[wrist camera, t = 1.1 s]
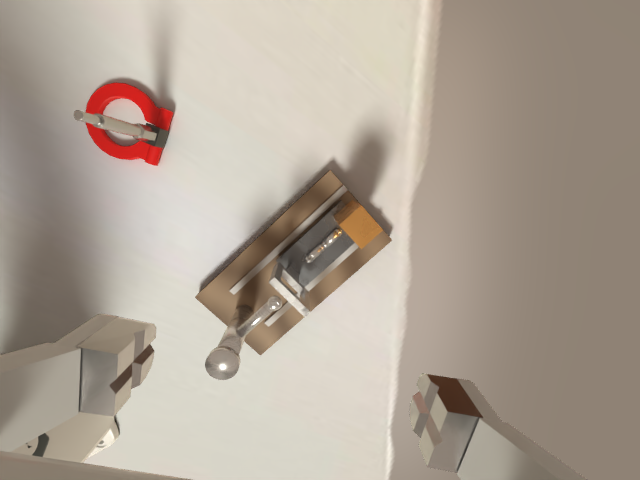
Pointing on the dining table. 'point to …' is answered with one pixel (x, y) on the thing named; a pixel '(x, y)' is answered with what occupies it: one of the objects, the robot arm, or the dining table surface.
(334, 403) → the dining table surface
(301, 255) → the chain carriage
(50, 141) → the dining table surface
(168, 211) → the dining table surface
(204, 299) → the board
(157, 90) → the dining table surface
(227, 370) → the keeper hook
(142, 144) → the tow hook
